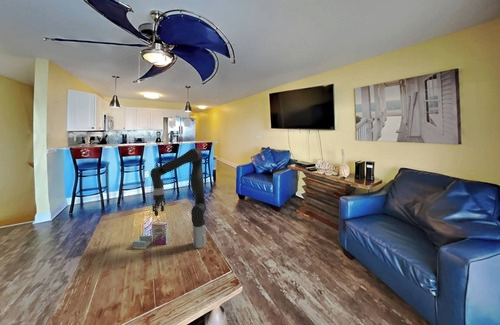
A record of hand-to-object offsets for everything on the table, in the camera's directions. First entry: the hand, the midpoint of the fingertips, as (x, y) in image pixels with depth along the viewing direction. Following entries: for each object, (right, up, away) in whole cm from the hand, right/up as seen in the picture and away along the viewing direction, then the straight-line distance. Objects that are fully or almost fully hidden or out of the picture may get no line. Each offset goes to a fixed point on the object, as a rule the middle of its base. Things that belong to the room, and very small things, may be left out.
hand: (159, 213), depth 146 cm
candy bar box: (-1, -24, +4) cm, 24 cm away
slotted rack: (-13, -24, 0) cm, 27 cm away
